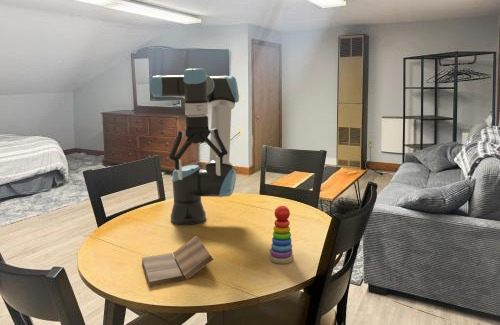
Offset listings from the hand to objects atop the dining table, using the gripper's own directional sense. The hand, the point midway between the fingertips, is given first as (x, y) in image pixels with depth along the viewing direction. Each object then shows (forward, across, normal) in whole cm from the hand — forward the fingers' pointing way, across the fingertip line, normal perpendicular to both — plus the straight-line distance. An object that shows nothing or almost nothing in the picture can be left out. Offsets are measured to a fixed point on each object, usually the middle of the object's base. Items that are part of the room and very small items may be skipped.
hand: (199, 177), depth 146 cm
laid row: (+27, -17, -11) cm, 34 cm away
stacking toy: (+27, +22, -19) cm, 40 cm away
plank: (+24, -6, -12) cm, 27 cm away
